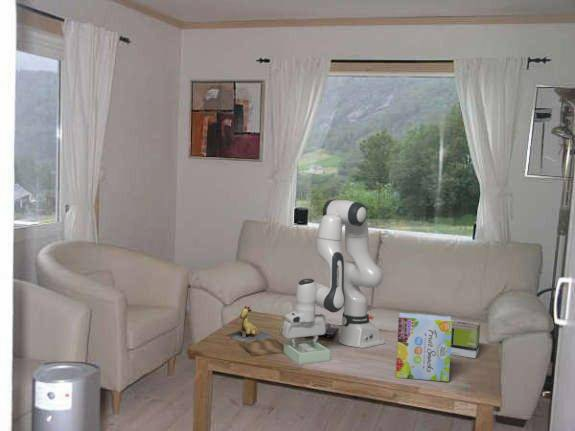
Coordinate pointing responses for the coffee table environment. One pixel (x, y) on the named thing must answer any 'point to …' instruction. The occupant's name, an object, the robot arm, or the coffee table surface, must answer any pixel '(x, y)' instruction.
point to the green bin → (307, 353)
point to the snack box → (423, 347)
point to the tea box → (465, 338)
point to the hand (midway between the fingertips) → (303, 345)
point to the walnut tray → (262, 347)
